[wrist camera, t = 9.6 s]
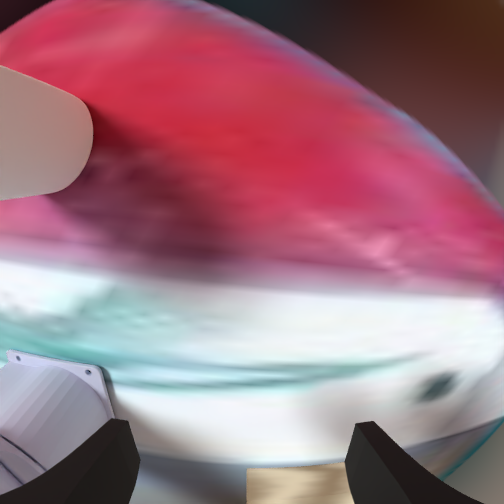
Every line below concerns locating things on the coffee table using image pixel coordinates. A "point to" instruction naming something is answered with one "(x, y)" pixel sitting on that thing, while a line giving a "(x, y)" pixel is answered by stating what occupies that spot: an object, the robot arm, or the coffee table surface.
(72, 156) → the can
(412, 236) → the coffee table surface
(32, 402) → the robot arm
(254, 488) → the beech block
